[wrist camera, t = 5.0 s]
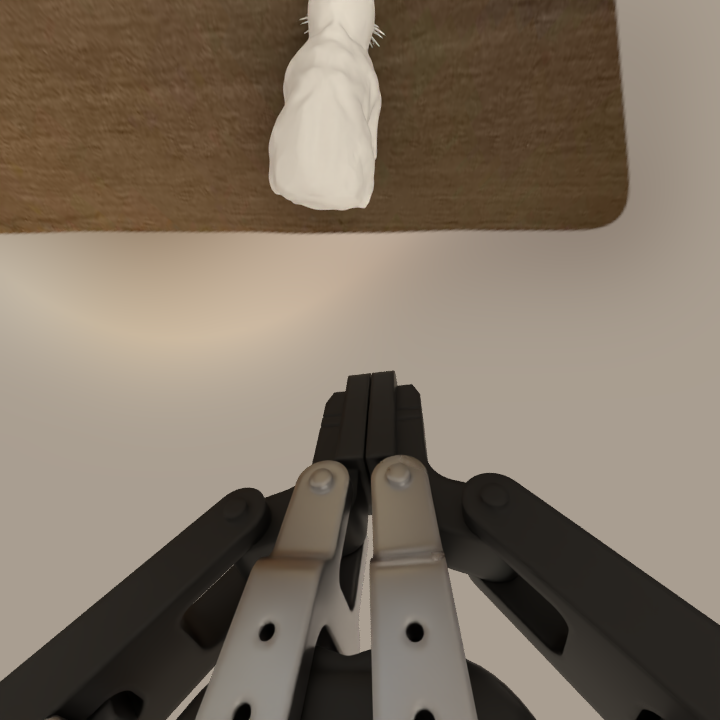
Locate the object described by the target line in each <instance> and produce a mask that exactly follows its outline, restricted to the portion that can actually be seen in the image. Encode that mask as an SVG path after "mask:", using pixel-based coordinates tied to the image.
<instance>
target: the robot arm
mask: <svg viewBox="0 0 720 720" xmlns="http://www.w3.org/2000/svg"><path fill="white" fill-rule="evenodd" d="M368 515H372V521H373V522H372V523H373V547H374V550H373V558H371V561H370V608H371V609H370V611H371V650H367V651H364V652H361V653H360V633H359V610H360V603H361V595H362V587H363V580H364V571H365V564H366V557H367V548H368V536H367V523H368ZM232 565H233V566H232ZM229 568H230V569H229ZM448 568H450V569H453V570H456V571H459V572H462V573H466V574H468V575H469V577H470V578H471V580H472V581H473V582H474V584H475V585H476V586H477V587H478V588H479V589H480V590H481V591H482V592H483V593H484V594H485V595H486V596H487V597H488V598H489V599H490V600H491V601H492V602H493V603H494V604H495V606H496V607H497V608H498V609H499V610H500V611H501V612H502V613H503V614H504V615H505V616H506V617H507V618H508V619H509V620H510V621H511V622H512V623H513V624H514V625H515V627H516V628H517V629H518V630H519V631H520V632H521V633H522V634H523V635H524V636H525V637H526V638H527V639H528V640H529V641H530V642H531V643H532V644H533V645H534V646H535V648H537V650H538V651H539V652H540V653H541V654H542V655H543V656H544V657H545V658H546V659H547V660H548V661H549V662H550V663H551V664H552V665H553V666H554V667H555V668H556V669H557V670H558V671H559V673H560V674H561V675H562V676H563V677H564V678H565V679H566V680H567V681H568V682H569V683H570V684H571V685H572V686H573V687H574V688H575V689H576V690H577V692H578V693H579V694H580V695H581V696H582V697H583V698H584V699H585V700H586V701H587V702H588V703H589V704H590V705H591V706H592V707H593V708H594V709H595V710H596V711H597V712H598V713H599V714H600V716H601V717H602V718H603V719H604V720H720V625H719V624H717V623H716V622H714V621H713V620H712V619H710V618H709V617H707V616H706V615H705V614H703V613H702V612H700V611H699V610H697V609H696V608H695V607H693V606H692V605H690V604H689V603H687V602H686V601H684V600H683V599H682V598H680V597H678V595H676V594H675V593H673V592H672V591H671V590H669V589H668V588H666V587H665V586H663V585H662V584H661V583H659V582H658V581H656V580H655V579H653V578H652V577H651V576H649V575H648V574H646V573H645V572H644V571H642V570H641V569H639V568H638V567H636V566H635V565H634V564H632V563H631V562H629V561H628V560H627V559H625V558H623V557H622V556H621V555H619V554H618V553H616V552H615V551H614V550H612V549H611V548H609V547H608V546H607V545H605V544H604V543H602V542H601V541H600V540H598V539H597V538H595V537H594V536H592V535H591V534H590V533H588V532H587V531H585V530H584V529H583V528H581V527H580V526H578V525H577V524H575V523H574V522H573V521H571V520H570V519H568V518H567V517H565V516H564V515H563V514H561V513H560V512H558V511H557V510H556V509H554V508H553V507H551V506H550V505H548V504H547V503H546V502H544V501H543V500H541V499H540V498H539V497H537V496H536V495H534V494H533V493H531V492H530V491H529V490H527V489H526V488H524V487H523V486H521V485H520V484H519V483H517V482H516V481H514V480H513V479H511V478H509V477H507V476H504V475H501V474H496V473H484V474H479V475H477V476H474V477H473V478H471V479H470V480H469V481H467V482H466V483H465V482H460V481H455V480H451V479H448V478H446V477H443V476H441V475H440V474H438V473H437V472H436V471H434V470H433V469H432V467H431V466H430V465H429V463H428V459H427V450H426V440H425V431H424V423H423V415H422V407H421V399H420V394H419V392H418V391H417V390H416V389H415V387H414V386H413V385H412V384H410V385H401V386H397V381H396V375H395V371H386V372H378V373H372V375H371V373H369V374H361V375H352V376H348V380H347V387H346V391H345V392H336V393H334V394H333V395H332V396H331V398H330V399H329V400H328V402H327V403H326V406H325V410H324V415H323V419H322V423H321V428H320V432H319V437H318V441H317V445H316V450H315V455H314V459H313V463H312V465H311V466H309V467H308V468H306V469H305V470H304V471H303V472H302V473H301V475H300V476H299V478H298V480H297V482H296V485H295V486H294V487H292V488H290V489H288V490H285V491H283V492H280V493H277V494H274V495H271V496H269V497H266V498H264V496H263V494H262V493H261V492H260V491H259V490H257V489H254V488H242V489H238V490H235V491H233V492H231V493H229V494H228V495H226V496H225V497H224V498H222V499H221V500H220V501H219V502H218V503H216V504H215V505H214V506H213V507H211V508H210V509H209V510H208V511H207V512H206V513H204V514H203V515H202V516H201V517H199V518H198V519H197V520H196V521H195V522H194V523H192V524H191V525H190V526H188V527H187V528H186V529H185V530H184V531H182V532H181V533H180V534H179V535H178V536H176V537H175V538H174V539H173V540H171V541H170V542H169V543H168V544H167V545H165V546H164V547H163V548H162V549H161V550H160V551H158V552H157V553H156V554H154V555H153V556H152V557H151V558H150V559H148V560H147V561H146V562H145V563H144V564H142V565H141V566H140V567H139V568H138V569H136V570H135V571H134V572H133V573H131V574H130V575H129V576H128V577H127V578H125V579H124V580H123V581H122V582H121V583H119V584H118V585H117V586H116V587H114V588H113V589H112V590H111V591H110V592H108V593H107V594H106V595H105V596H104V597H102V598H101V599H100V600H99V601H97V602H96V603H95V604H94V605H93V606H91V607H90V608H89V609H88V610H87V611H86V612H84V613H83V614H82V615H81V616H79V617H78V618H77V619H76V620H74V621H73V622H72V623H71V624H70V625H68V626H67V627H66V628H65V629H64V630H62V631H61V632H60V633H59V634H57V635H56V636H55V637H54V638H53V639H51V640H50V641H49V642H48V643H47V644H46V645H44V646H43V647H42V648H41V649H39V650H38V651H37V652H36V653H35V654H33V655H32V656H31V657H30V658H28V659H27V660H26V661H25V662H24V663H22V664H21V665H20V666H19V667H17V668H16V669H15V670H14V671H13V672H11V673H10V674H9V675H8V676H7V677H6V678H4V679H3V680H2V681H1V682H0V720H166V719H167V718H168V717H169V716H170V715H171V713H172V712H173V711H174V710H175V709H176V708H177V707H178V706H179V705H180V703H181V702H182V701H183V700H184V699H185V698H186V697H187V696H188V695H189V694H190V692H191V691H192V690H193V689H194V688H195V687H196V686H197V685H198V684H199V683H200V681H201V680H202V679H203V678H204V677H205V676H206V675H207V674H208V673H209V671H210V670H211V669H212V668H213V667H214V666H215V668H214V671H213V674H212V676H211V679H210V681H209V683H208V685H206V686H205V687H204V688H203V689H202V690H201V691H200V692H199V694H198V695H197V696H196V697H195V698H194V699H193V700H192V702H191V703H190V704H189V705H188V706H187V708H186V709H185V710H184V711H183V712H182V713H181V715H180V716H179V717H178V718H177V719H176V720H536V719H535V717H534V716H533V715H532V714H531V712H530V711H529V710H528V708H527V707H526V706H525V705H524V704H523V703H522V701H521V700H520V699H519V698H518V697H517V696H516V695H515V694H514V693H513V692H512V691H511V690H510V689H509V688H508V686H506V685H505V684H504V683H503V682H502V681H501V680H499V679H498V678H497V677H496V676H495V675H493V674H492V673H490V672H489V671H487V670H486V669H484V668H483V667H481V666H479V665H477V664H475V663H473V662H471V661H469V660H467V659H466V658H465V653H464V649H463V643H462V639H461V633H460V628H459V623H458V618H457V613H456V608H455V603H454V598H453V593H452V588H451V583H450V578H449V573H448ZM228 569H229V570H228ZM227 570H228V571H227ZM226 571H227V572H226ZM225 572H226V573H225ZM224 573H225V574H224ZM223 574H224V575H223ZM222 575H223V576H222ZM221 576H222V577H221ZM220 577H221V578H220ZM219 578H220V579H219ZM218 579H219V580H218ZM217 580H218V581H217ZM216 581H217V582H216ZM215 582H216V583H215ZM214 583H215V584H214ZM213 584H214V585H213ZM206 590H207V591H206ZM205 591H206V592H205ZM204 592H205V593H204ZM203 593H204V594H203ZM202 594H203V595H202ZM201 595H202V596H201ZM200 596H201V597H200ZM199 597H200V598H199ZM198 598H199V599H198ZM197 599H198V600H197ZM196 600H197V601H196ZM195 601H196V602H195ZM194 602H195V603H194Z"/></svg>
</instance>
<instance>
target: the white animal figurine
mask: <svg viewBox="0 0 720 720" xmlns="http://www.w3.org/2000/svg"><path fill="white" fill-rule="evenodd" d="M306 15H308V17H305V18H302V19H300V20H304V19H308V21H306V22H304V23H302V24H305V23H308V27H309V30H307V31H306V32H305V33H307V32H309V39H308V41H307V42H306V43H305V44H304V45H303V46H302V47H301V48H300V49H299V51H298V52H297V53H296V55H295V56H294V57H293V58H292V60H291V61H290V63H289V65H288V67H287V70H286V73H285V80H284V84H283V93H284V100H285V106H284V107H283V109H282V111H281V112H280V114H279V116H278V117H277V120H276V123H275V125H274V127H273V130H272V133H271V137H270V141H269V158H270V165H269V182H270V186H271V188H272V190H273V191H274V193H275V194H278V195H282V196H283V197H285V198H286V199H288V200H291V201H292V202H293V203H294V204H301V205H304V206H306V207H309V208H312V209H316V210H332V209H335V210H347V209H350V208H356V207H360V208H365V207H366V206H367V205H368V203H369V200H370V197H371V194H372V192H373V188H374V169H375V160H376V157H377V127H378V119H379V114H380V109H381V94H380V91H379V84H378V78H377V75H376V73H375V71H374V68H373V63H372V61H371V59H370V57H369V55H368V48H369V44H370V45H371V42H370V41H371V39H372V40H373V41H374V42H375V43H376V44H377V45H378V43H377V42H376V40H375V39H374V38H373V37H372V33H374V34H376V35H378V36H380V35H379V34H378V33H377V32H375V31H374V30H376V31H378V32H380V33H382V34H383V35H384V33H383V32H381V31H380V30H379V29H377V28H376V27H378V26H377V25H376V24H374V22H375V5H374V0H309V2H308V14H306ZM374 26H375V27H374ZM378 28H379V27H378ZM305 33H304V34H305ZM380 37H381V36H380ZM381 38H382V37H381ZM373 44H374V43H373ZM378 46H379V45H378ZM371 47H372V45H371ZM372 48H373V47H372Z"/></svg>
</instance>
